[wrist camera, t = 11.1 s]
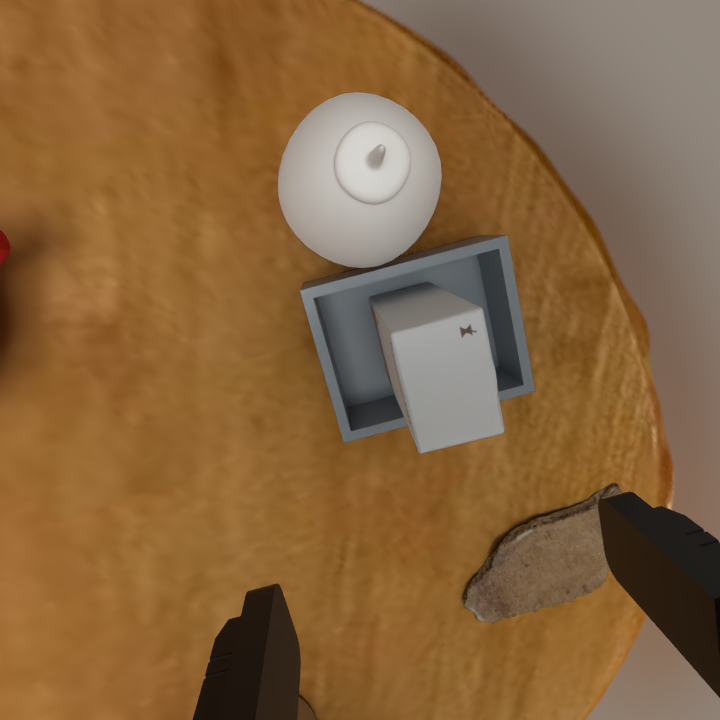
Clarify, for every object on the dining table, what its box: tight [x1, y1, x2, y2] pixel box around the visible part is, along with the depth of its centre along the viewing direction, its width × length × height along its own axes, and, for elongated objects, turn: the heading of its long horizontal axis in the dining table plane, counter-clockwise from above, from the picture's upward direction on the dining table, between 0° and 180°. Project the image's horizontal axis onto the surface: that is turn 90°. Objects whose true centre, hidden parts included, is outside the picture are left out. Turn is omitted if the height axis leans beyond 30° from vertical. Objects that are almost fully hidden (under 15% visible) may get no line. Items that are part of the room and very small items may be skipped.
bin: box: [300, 235, 535, 443], centre depth 31 cm, size 10×12×5 cm
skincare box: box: [369, 282, 505, 453], centre depth 27 cm, size 6×4×12 cm
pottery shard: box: [463, 484, 622, 623], centre depth 39 cm, size 8×3×15 cm
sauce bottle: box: [278, 92, 442, 268], centre depth 23 cm, size 8×8×18 cm
